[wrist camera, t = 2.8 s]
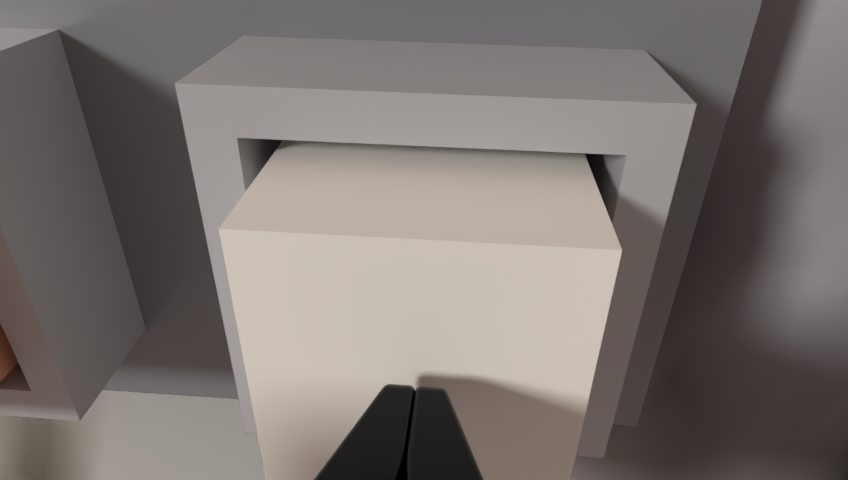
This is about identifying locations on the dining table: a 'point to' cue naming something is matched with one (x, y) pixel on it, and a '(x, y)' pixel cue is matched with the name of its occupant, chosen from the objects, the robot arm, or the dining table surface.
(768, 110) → the dining table surface
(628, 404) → the key panel
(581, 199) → the key ivory
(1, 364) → the key terracotta
